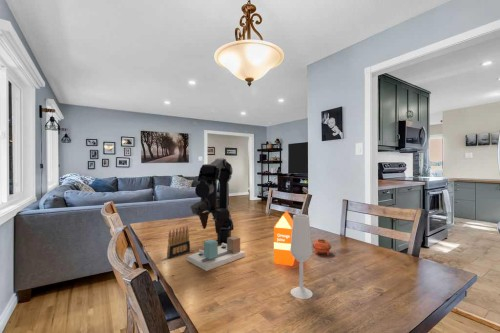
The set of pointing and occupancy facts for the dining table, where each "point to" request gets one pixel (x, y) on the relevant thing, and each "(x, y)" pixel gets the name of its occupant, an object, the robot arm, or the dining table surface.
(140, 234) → the dining table surface
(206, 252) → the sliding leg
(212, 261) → the white base plate
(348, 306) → the dining table surface
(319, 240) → the pot
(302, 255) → the champagne flute
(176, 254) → the ammunition clip
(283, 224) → the orange juice
